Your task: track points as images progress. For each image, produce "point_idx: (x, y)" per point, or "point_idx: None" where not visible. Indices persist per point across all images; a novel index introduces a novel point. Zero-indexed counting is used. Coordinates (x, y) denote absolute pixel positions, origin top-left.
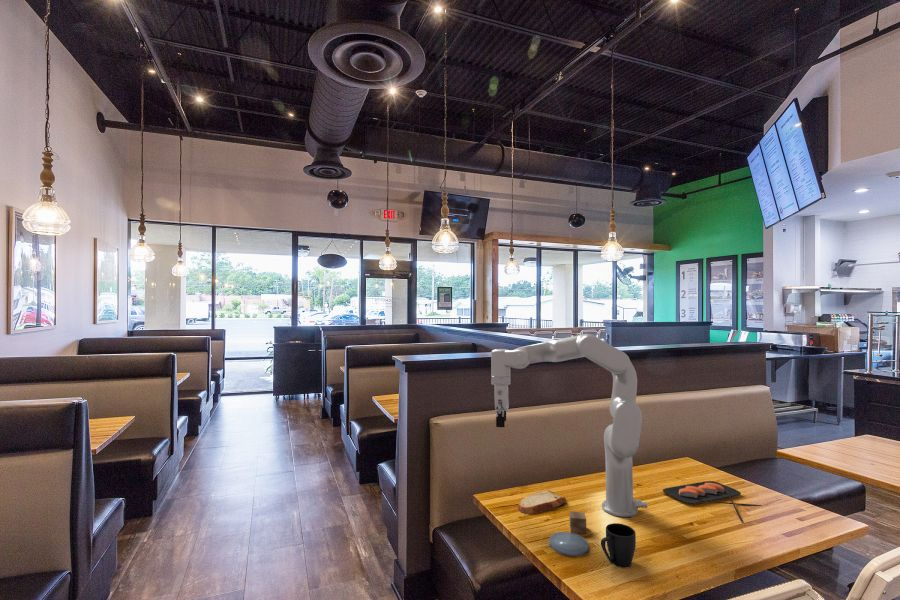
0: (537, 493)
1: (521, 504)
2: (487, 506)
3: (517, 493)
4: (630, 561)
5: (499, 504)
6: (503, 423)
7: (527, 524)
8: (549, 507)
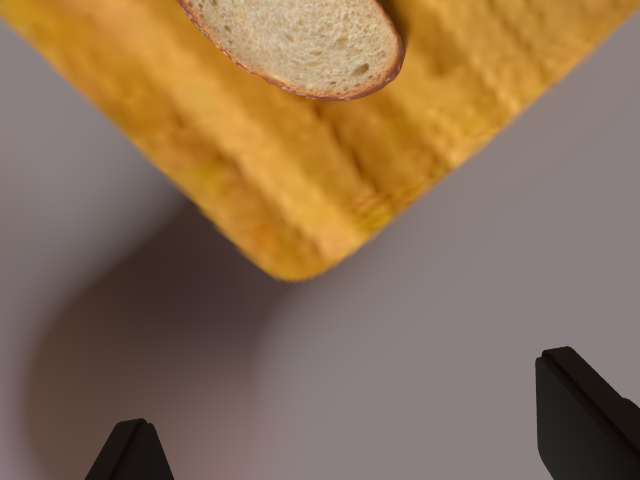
0: (214, 22)
1: (360, 81)
2: (382, 226)
3: (203, 136)
4: None
5: (348, 185)
6: (606, 396)
7: (499, 22)
8: None
